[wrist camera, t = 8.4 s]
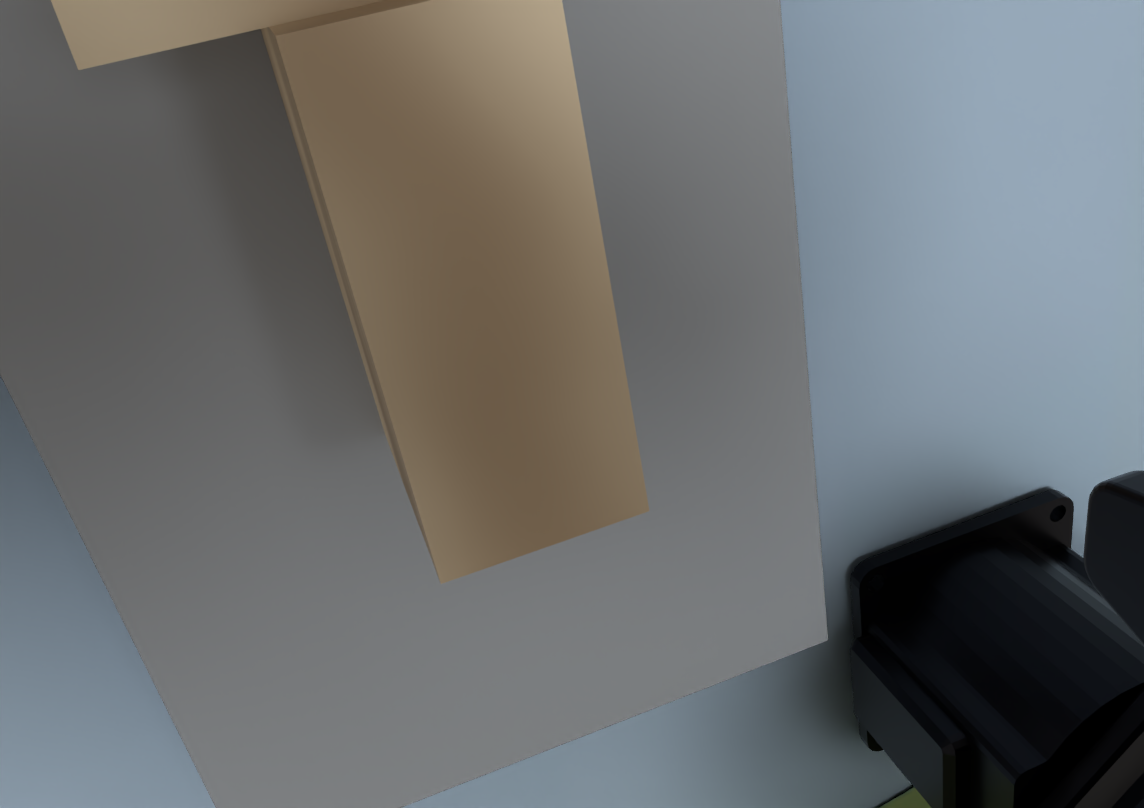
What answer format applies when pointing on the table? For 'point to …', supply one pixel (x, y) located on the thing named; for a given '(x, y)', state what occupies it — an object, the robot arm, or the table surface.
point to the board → (353, 426)
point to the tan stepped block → (447, 246)
